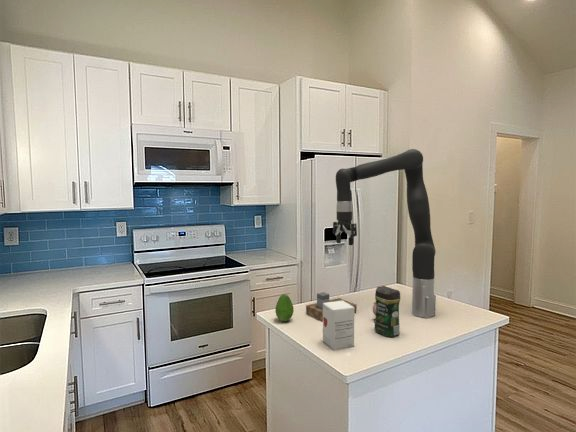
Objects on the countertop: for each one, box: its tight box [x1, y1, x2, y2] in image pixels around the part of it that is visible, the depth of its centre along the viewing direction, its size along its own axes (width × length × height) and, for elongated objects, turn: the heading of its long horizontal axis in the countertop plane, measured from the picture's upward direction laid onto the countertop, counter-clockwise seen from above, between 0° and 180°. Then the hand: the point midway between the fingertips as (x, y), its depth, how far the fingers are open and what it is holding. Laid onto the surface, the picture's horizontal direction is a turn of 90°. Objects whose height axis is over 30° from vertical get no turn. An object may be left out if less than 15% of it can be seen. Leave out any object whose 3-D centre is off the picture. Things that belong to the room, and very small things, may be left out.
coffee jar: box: [374, 285, 401, 338], centre depth 150 cm, size 10×8×19 cm
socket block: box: [305, 298, 357, 323], centre depth 173 cm, size 12×20×4 cm, turn 123°
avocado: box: [274, 293, 295, 322], centre depth 164 cm, size 8×8×12 cm
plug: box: [316, 292, 330, 310], centre depth 171 cm, size 4×4×10 cm
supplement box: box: [322, 299, 355, 351], centre depth 140 cm, size 9×9×15 cm
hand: (344, 244), depth 181 cm, fingers open, 8 cm apart
